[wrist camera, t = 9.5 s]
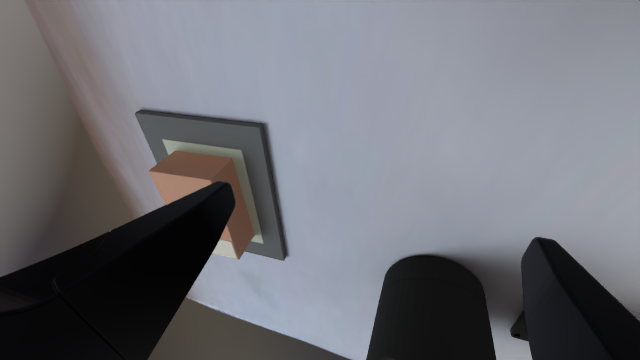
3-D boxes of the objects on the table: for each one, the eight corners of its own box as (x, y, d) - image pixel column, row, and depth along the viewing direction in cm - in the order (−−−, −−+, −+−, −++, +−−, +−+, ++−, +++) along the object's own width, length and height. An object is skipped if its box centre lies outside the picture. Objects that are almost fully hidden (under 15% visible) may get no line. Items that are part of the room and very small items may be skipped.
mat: (286, 256, 33) (283, 261, 32) (194, 234, 36) (190, 238, 36) (262, 124, 23) (258, 128, 23) (139, 110, 26) (133, 113, 26)
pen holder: (380, 243, 27) (357, 357, 20) (498, 259, 24) (524, 402, 17) (382, 302, 33) (364, 409, 25) (478, 321, 29) (491, 450, 22)
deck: (174, 150, 27) (147, 171, 25) (232, 158, 25) (209, 181, 23) (205, 225, 33) (186, 248, 30) (254, 235, 31) (238, 260, 29)
